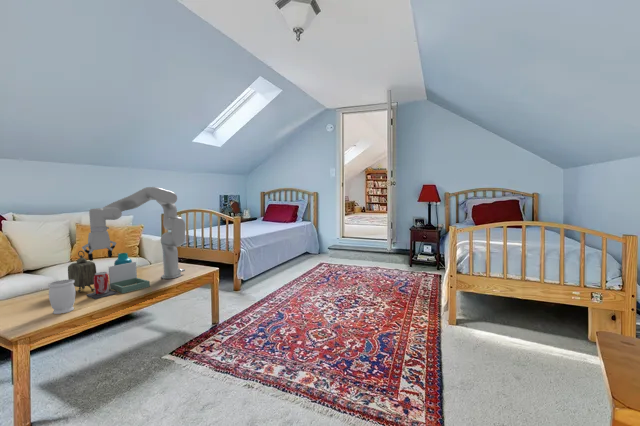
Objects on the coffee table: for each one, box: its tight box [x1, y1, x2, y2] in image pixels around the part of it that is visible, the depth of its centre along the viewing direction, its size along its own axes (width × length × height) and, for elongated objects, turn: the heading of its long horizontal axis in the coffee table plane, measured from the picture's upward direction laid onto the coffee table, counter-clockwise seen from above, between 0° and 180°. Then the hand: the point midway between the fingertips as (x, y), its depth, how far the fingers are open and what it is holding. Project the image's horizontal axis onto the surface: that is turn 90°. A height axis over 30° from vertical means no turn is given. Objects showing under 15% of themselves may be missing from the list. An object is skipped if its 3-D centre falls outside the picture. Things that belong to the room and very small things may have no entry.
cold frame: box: [108, 261, 151, 294], centre depth 198 cm, size 16×17×14 cm
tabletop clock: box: [67, 250, 97, 293], centre depth 192 cm, size 14×9×25 cm, turn 62°
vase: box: [113, 252, 133, 266], centre depth 213 cm, size 11×11×19 cm
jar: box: [47, 279, 77, 315], centre depth 159 cm, size 11×10×15 cm
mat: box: [85, 288, 119, 300], centre depth 186 cm, size 12×12×1 cm
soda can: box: [93, 271, 110, 295], centre depth 185 cm, size 7×7×12 cm
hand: (100, 258), depth 185 cm, fingers open, 9 cm apart
